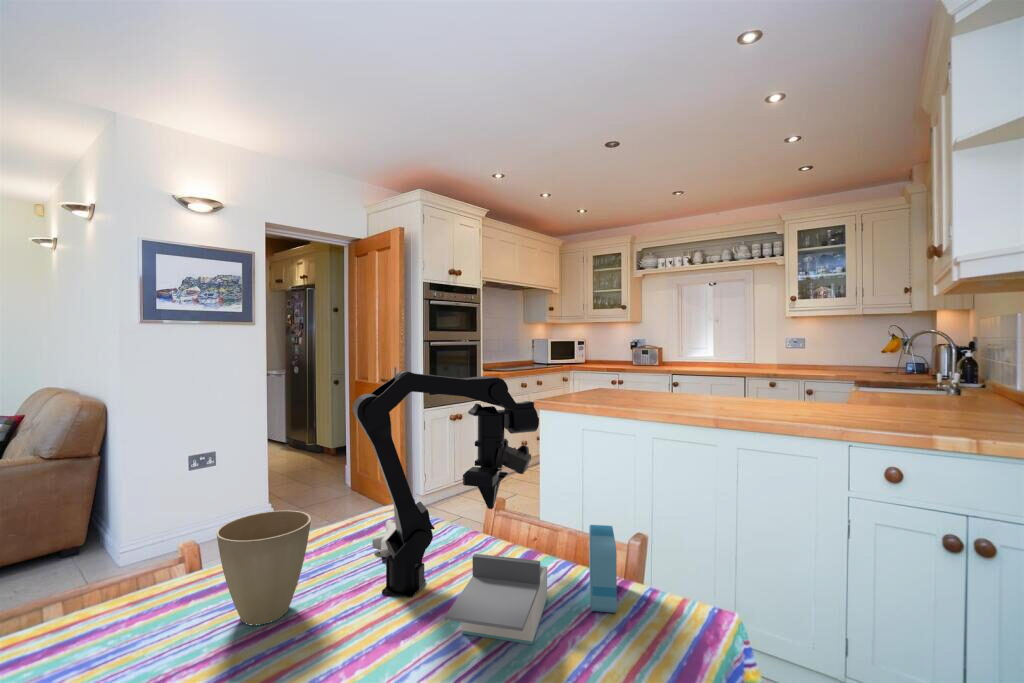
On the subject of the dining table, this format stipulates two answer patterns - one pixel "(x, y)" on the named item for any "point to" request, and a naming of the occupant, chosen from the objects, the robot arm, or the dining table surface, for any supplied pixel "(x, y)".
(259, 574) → the plant pot
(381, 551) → the bunny figurine
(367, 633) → the dining table surface
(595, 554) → the data package
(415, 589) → the robot arm
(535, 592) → the lid
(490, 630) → the box
